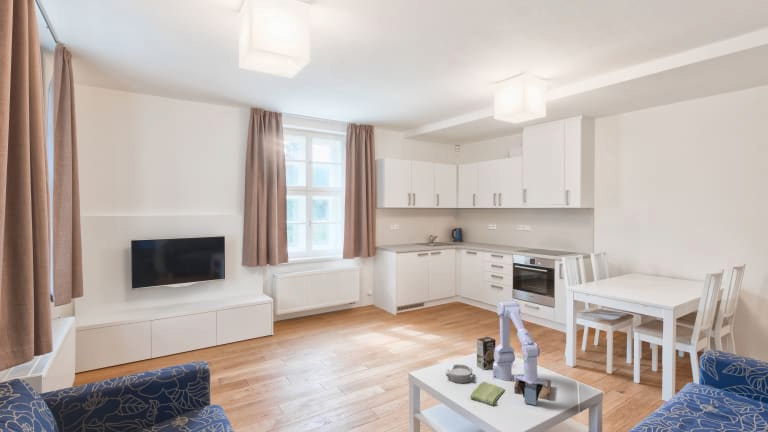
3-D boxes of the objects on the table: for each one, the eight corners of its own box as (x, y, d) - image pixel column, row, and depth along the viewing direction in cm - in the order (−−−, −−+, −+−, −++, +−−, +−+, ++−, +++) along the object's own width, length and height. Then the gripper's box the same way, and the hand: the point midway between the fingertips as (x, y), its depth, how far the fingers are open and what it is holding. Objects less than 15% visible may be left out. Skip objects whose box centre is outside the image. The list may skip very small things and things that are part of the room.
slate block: (524, 402, 175) (524, 388, 175) (525, 397, 180) (525, 383, 180) (536, 405, 173) (536, 390, 173) (536, 400, 178) (536, 385, 178)
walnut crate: (514, 395, 185) (514, 386, 185) (517, 382, 198) (517, 374, 198) (549, 402, 178) (549, 393, 178) (551, 389, 191) (551, 380, 191)
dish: (444, 382, 201) (444, 372, 200) (449, 370, 214) (449, 362, 213) (472, 386, 195) (472, 376, 195) (475, 374, 208) (475, 365, 208)
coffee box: (484, 370, 213) (483, 342, 212) (476, 366, 219) (476, 338, 218) (496, 366, 217) (495, 339, 217) (488, 362, 223) (488, 336, 222)
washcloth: (506, 392, 189) (506, 386, 189) (494, 408, 175) (494, 401, 175) (481, 385, 197) (481, 379, 197) (468, 399, 183) (468, 393, 183)
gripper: (513, 370, 175) (513, 398, 176) (546, 376, 169) (547, 405, 170) (515, 364, 182) (515, 391, 182) (547, 369, 175) (547, 398, 176)
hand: (530, 397), depth 176 cm, fingers closed on slate block, 5 cm apart
